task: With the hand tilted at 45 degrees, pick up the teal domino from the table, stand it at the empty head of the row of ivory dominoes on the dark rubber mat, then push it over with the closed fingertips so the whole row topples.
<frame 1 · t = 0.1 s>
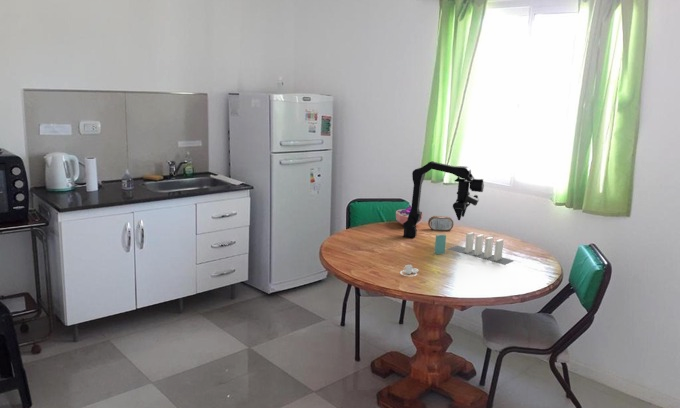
hand: (461, 218, 285), 15 cm above the table, tool pointing down, fingers open, 9 cm apart
cell model: (408, 226, 324), on the table
tin: (440, 230, 316), on the table
domino 5: (497, 259, 262), resting on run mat
domino 4: (487, 256, 266), resting on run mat
teacup and saucer: (414, 276, 238), on the table
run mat: (479, 255, 269), on the table
domino 3: (478, 254, 270), resting on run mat
teal domino: (439, 253, 270), on the table
domino 2: (468, 251, 274), resting on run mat
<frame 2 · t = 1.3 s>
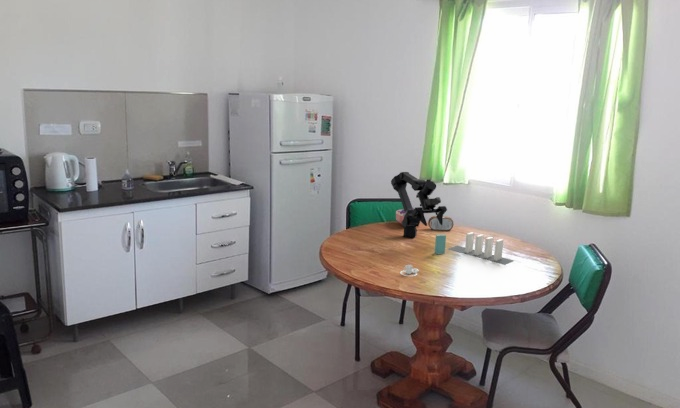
hand: (434, 225, 274), 13 cm above the table, tool tilted 45°, fingers open, 9 cm apart
nothing on the table moved.
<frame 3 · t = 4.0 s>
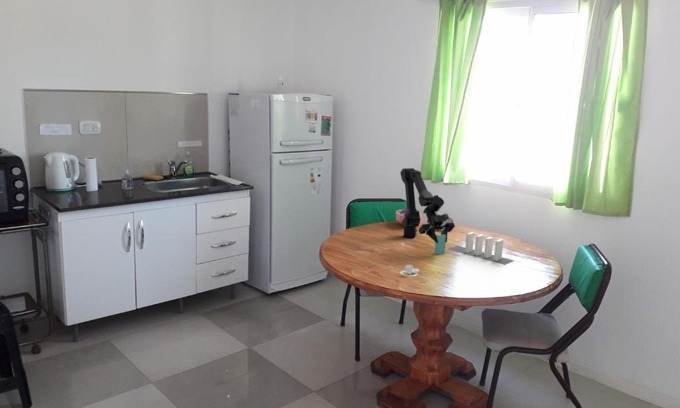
hand: (441, 242, 267), 7 cm above the table, tool tilted 45°, fingers closed on teal domino, 5 cm apart
teal domino: (439, 253, 270), on the table, touching gripper
everything else where it was.
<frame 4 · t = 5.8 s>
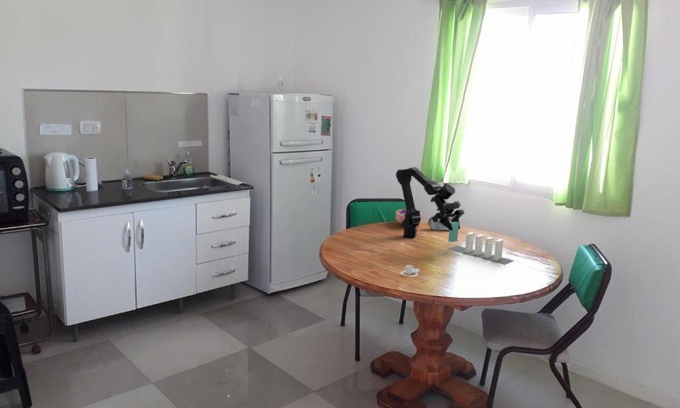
hand: (455, 229, 270), 13 cm above the table, tool tilted 45°, fingers closed on teal domino, 5 cm apart
teal domino: (452, 241, 272), point 6 cm above the table, touching gripper
everything else where it was.
when the fingers open (8 cm above the table, at t = 7.7 s): teal domino stays where it is, resting on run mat.
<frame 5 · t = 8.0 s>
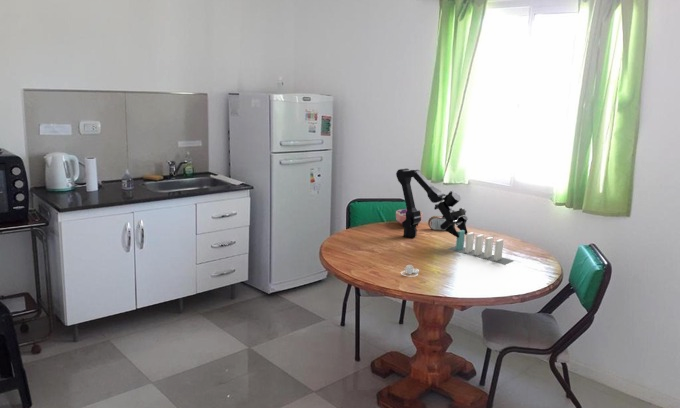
hand: (463, 236, 275), 8 cm above the table, tool tilted 45°, fingers open, 8 cm apart
teal domino: (459, 249, 277), resting on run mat
everything else where it was.
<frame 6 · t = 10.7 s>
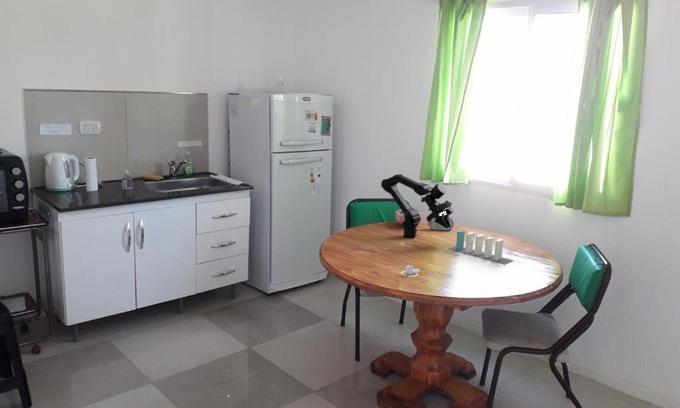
hand: (448, 227, 280), 11 cm above the table, tool tilted 45°, fingers closed
nothing on the table moved.
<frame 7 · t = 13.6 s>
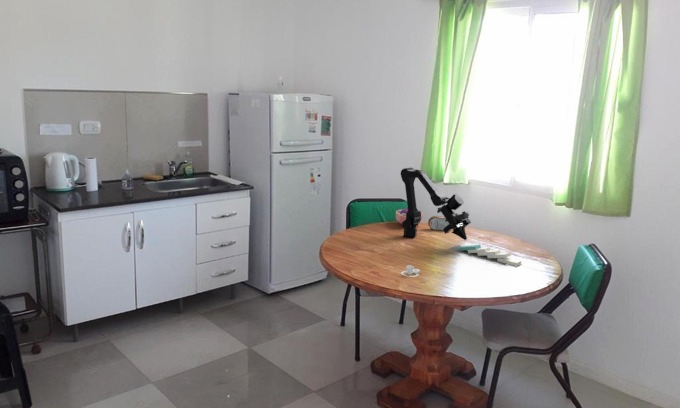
hand: (466, 239, 274), 7 cm above the table, tool tilted 45°, fingers closed
domino 5: (500, 258, 261), point 1 cm above the table, tilted 90°, touching domino 4, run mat
domino 4: (489, 255, 265), point 1 cm above the table, tilted 73°, touching domino 3, domino 5, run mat
domino 3: (480, 253, 269), point 1 cm above the table, tilted 73°, touching domino 2, domino 4, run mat
teal domino: (461, 248, 276), point 1 cm above the table, tilted 73°, touching domino 2, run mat
domino 2: (470, 250, 273), point 1 cm above the table, tilted 73°, touching domino 3, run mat, teal domino
everything else where it was.
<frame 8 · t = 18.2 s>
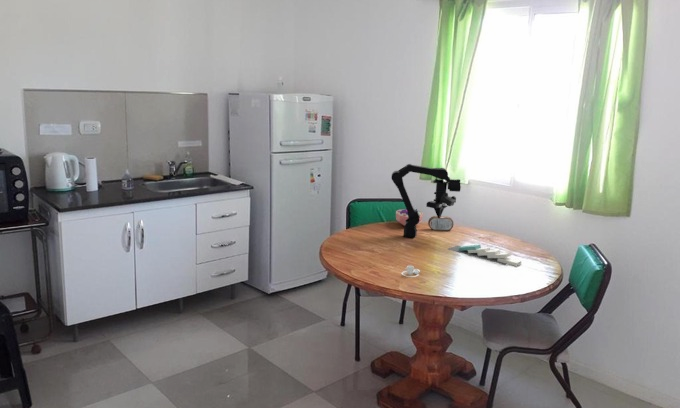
hand: (439, 217, 296), 12 cm above the table, tool pointing down, fingers closed
at the end: domino 5 tilted 90°; teal domino tilted 73° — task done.
